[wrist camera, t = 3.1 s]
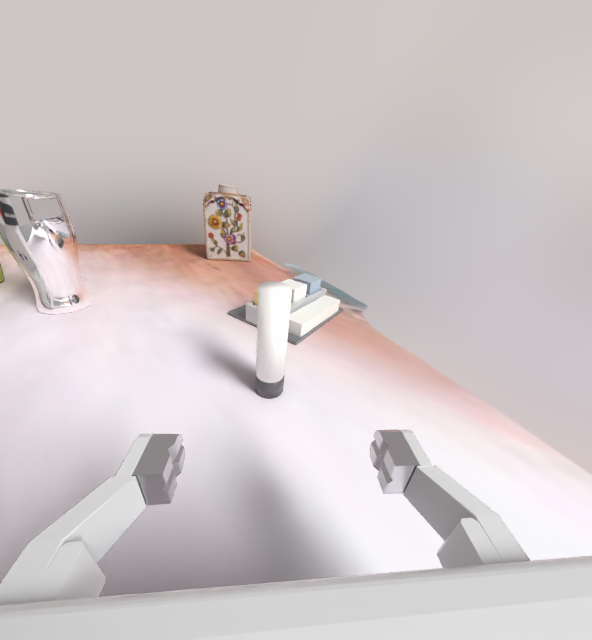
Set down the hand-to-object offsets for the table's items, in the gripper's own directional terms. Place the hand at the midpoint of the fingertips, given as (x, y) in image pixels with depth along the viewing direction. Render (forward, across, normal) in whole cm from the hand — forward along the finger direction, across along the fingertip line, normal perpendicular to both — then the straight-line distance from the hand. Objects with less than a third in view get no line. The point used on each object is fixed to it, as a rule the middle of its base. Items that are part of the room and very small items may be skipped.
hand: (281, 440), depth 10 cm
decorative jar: (+66, +12, +8) cm, 68 cm away
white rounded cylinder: (+12, 0, +9) cm, 15 cm away
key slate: (+34, -6, +6) cm, 35 cm away
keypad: (+30, -3, +8) cm, 32 cm away
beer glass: (+29, +31, +8) cm, 43 cm away
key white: (+30, -3, +6) cm, 31 cm away
